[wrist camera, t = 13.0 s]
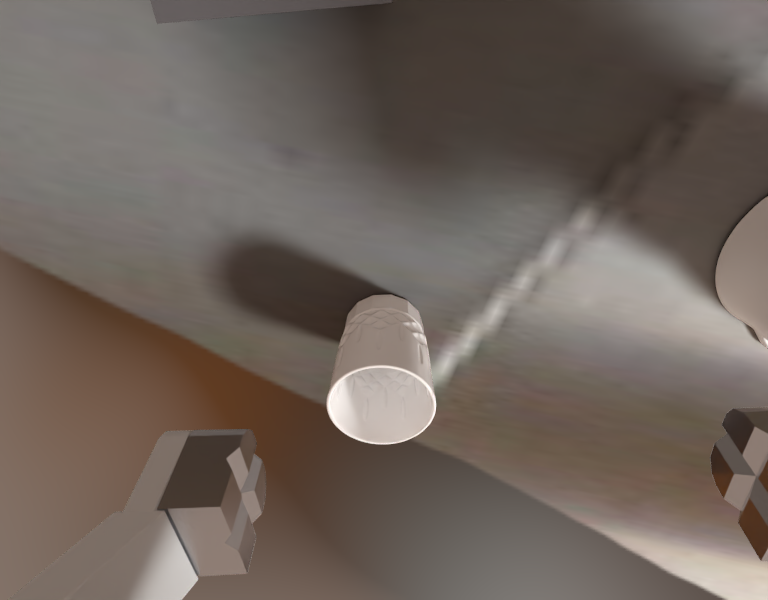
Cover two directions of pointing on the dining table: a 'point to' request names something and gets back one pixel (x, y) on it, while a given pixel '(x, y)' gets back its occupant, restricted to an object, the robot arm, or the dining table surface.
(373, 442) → the white cup
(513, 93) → the dining table surface
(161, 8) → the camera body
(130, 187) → the dining table surface
